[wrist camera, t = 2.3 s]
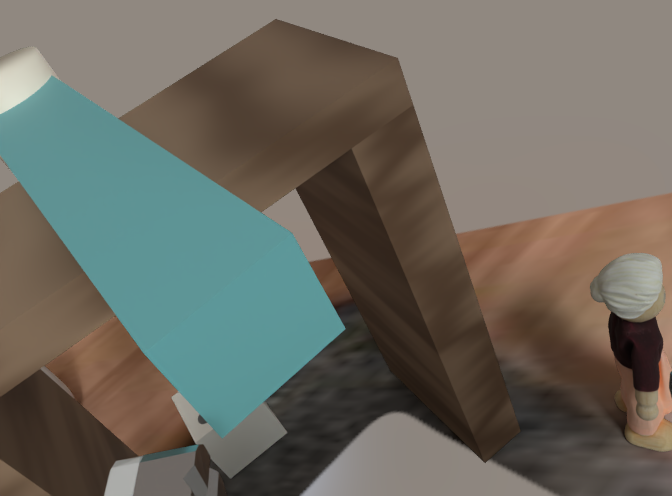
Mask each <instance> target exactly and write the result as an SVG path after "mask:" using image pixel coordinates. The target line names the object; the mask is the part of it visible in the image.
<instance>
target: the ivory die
mask: <svg viewBox="0 0 672 496" xmlns="http://www.w3.org/2000/svg"><path fill="white" fill-rule="evenodd" d="M171 398H172V400H173V401H174V403H175V405H176V407H177V409H178V411H179V413H180V415H181V417H182V419H183V421H184V422H185V424H186V426H187V428H188V430H189V432H190V434H191V436H192V438H193V440H194V441H195V443H196V444H197V445H199V444H204V446H205V448H206V449H207V451H208V453H209V454H210V458H211V459H212V460H213V461H214V463H215V464H216V465H217V466H218V467H219V468H220V469H221V470H222V471H223V472H224V473H225V474H226V475H227V476H228V477H229V478H230V479H231V478H232V477H233V476H234V475H236V474H237V473H238V472H239V471H241V470H242V469H243V468H244V467H246V466H247V465H248V464H249V463H251V462H252V461H253V460H254V459H256V458H257V457H258V456H259V455H260V454H262V453H263V452H264V451H265V450H267V449H268V448H269V447H270V446H272V445H273V444H274V443H275V442H277V441H278V440H279V439H280V438H282V437H283V436H284V435H285V434H287V431H286V430H285V428H284V427H283V426H282V424H281V423H280V421H279V420H278V419H277V417H276V416H275V414H274V413H273V411H272V410H271V409H270V407H269V406H268V404H267V403H266V402H265V401H264V402H263V403H262V404H261V405H260V406H258V407H257V408H256V409H255V410H254V411H253V412H252V413H251V414H249V415H248V416H247V417H246V418H245V419H244V420H243V421H242V422H241V423H239V424H238V425H237V426H236V427H235V428H234V429H233V430H232V431H230V432H229V433H228V434H227V435H226V436H225V437H224V438H223V439H222V438H221V437H220V436H219V435H218V434H217V433H216V431H215V430H214V429H213V428H212V427H211V426H210V425H209V424H208V423H207V422H206V421H205V420H204V418H203V417H202V416H201V415H200V414H199V413H198V412H197V411H196V410H195V409H194V408H193V406H192V405H191V404H190V403H189V402H188V401H187V400H186V399H185V398H184V397H183V396H182V395H181V393H180V392H177V393H176V394H175V395H174V396H172V397H171Z"/></svg>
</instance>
